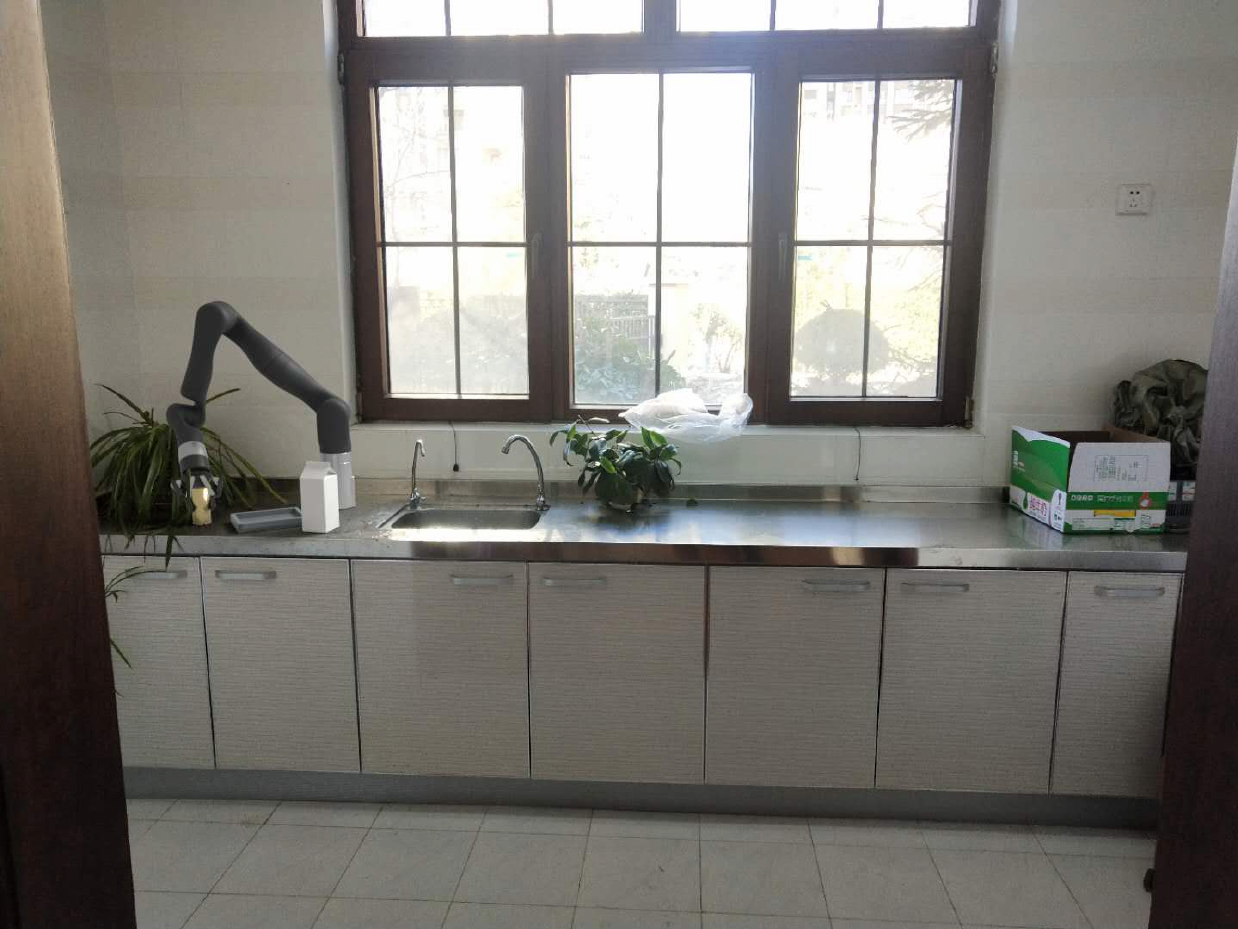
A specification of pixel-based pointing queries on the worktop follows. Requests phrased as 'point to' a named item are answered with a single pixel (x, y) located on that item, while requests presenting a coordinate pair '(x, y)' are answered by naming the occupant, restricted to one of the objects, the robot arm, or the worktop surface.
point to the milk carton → (319, 497)
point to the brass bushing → (201, 505)
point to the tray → (267, 519)
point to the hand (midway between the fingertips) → (202, 510)
